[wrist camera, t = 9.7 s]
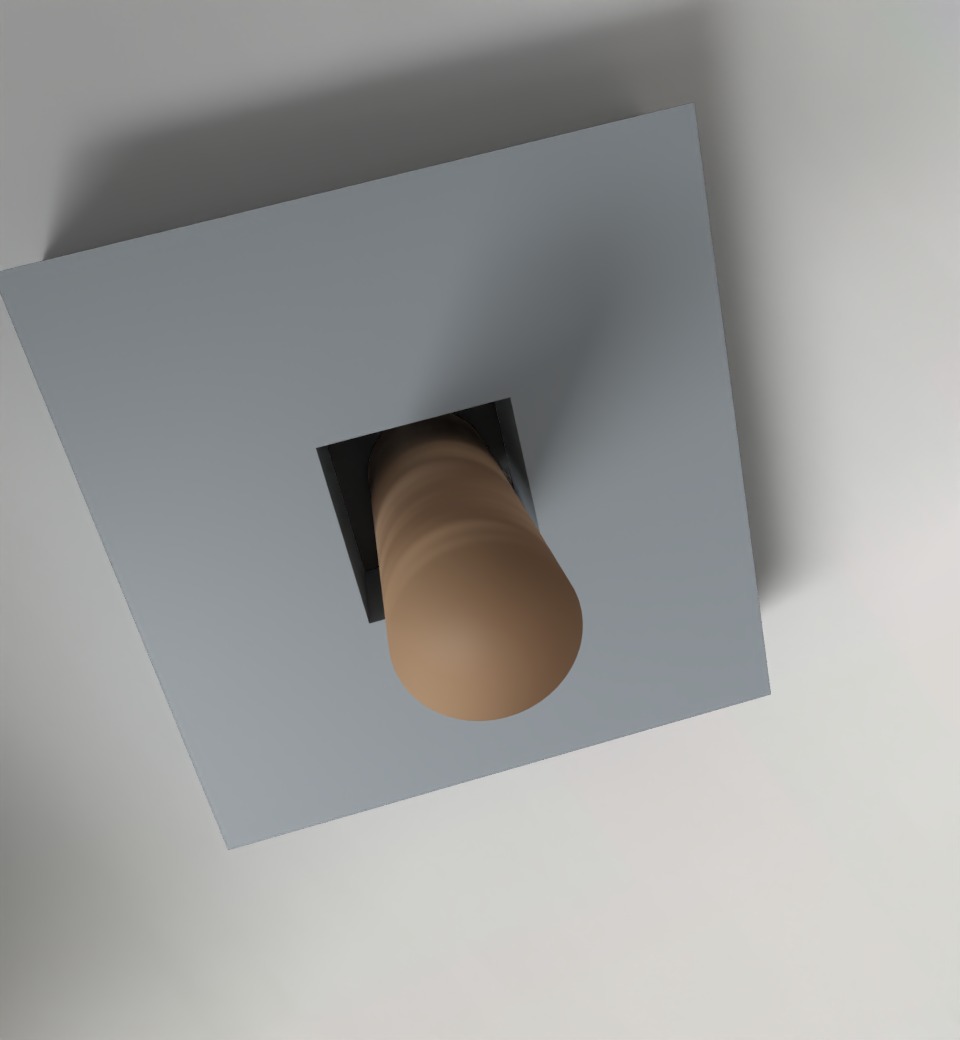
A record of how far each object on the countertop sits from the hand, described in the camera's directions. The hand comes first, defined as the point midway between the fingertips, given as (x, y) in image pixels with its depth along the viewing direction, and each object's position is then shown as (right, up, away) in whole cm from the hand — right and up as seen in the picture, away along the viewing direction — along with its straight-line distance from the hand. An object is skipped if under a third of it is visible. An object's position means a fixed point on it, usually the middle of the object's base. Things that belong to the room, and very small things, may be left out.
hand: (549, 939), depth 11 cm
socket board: (-3, +7, +19) cm, 20 cm away
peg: (-2, +7, +19) cm, 20 cm away
